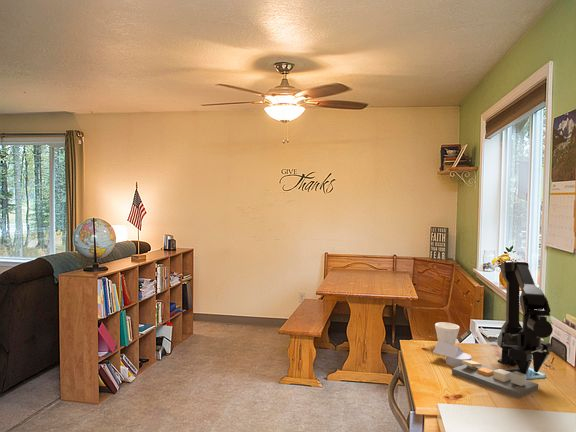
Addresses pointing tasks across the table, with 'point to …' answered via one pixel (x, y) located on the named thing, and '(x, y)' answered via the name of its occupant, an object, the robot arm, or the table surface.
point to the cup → (447, 332)
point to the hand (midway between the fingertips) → (529, 374)
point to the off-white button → (502, 375)
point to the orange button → (485, 371)
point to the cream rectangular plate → (471, 363)
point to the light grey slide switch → (518, 378)
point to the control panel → (494, 381)
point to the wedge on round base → (451, 354)
